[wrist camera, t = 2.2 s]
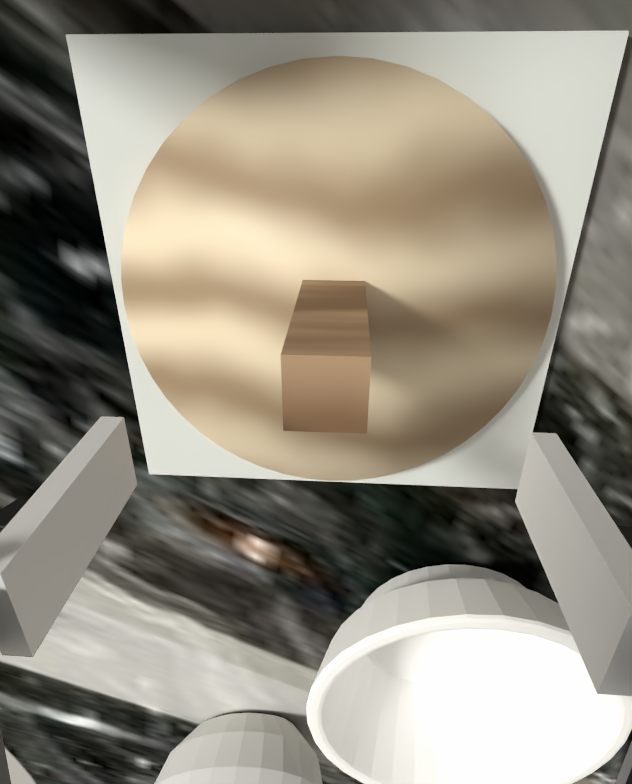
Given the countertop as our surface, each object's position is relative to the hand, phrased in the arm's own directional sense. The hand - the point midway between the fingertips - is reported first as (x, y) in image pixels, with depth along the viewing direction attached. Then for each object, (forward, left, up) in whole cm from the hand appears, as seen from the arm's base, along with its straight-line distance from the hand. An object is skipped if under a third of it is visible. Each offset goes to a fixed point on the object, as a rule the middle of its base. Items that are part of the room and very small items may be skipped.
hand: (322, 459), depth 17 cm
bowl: (+28, +10, -16) cm, 33 cm away
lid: (0, 0, -15) cm, 15 cm away
